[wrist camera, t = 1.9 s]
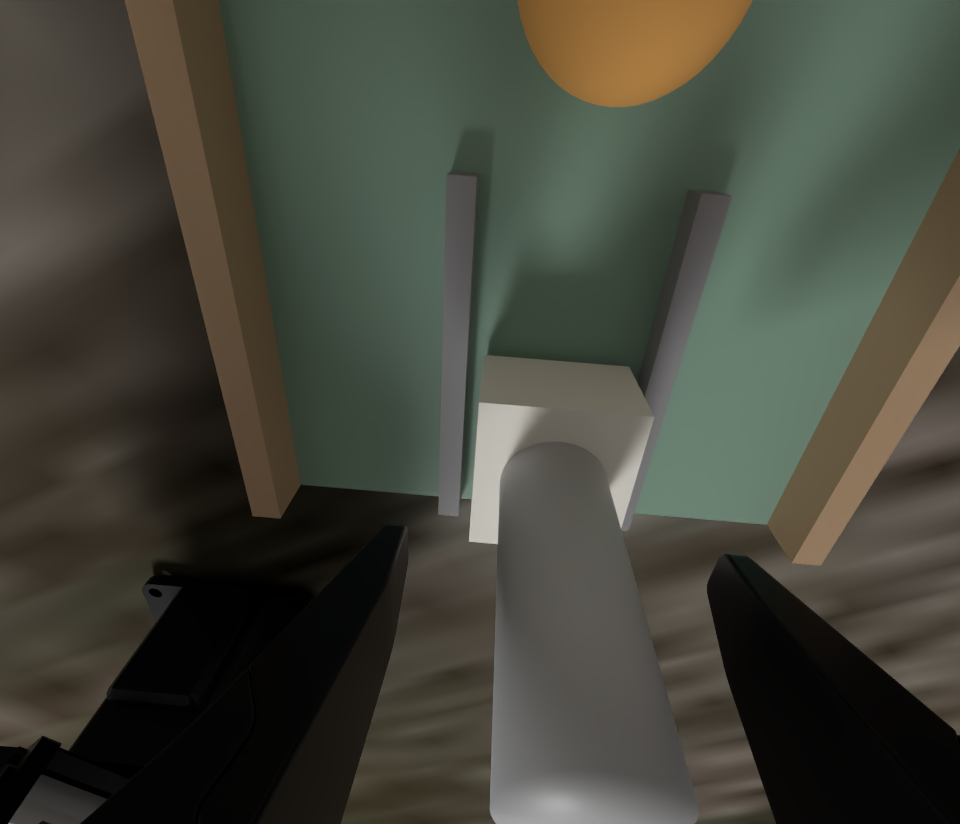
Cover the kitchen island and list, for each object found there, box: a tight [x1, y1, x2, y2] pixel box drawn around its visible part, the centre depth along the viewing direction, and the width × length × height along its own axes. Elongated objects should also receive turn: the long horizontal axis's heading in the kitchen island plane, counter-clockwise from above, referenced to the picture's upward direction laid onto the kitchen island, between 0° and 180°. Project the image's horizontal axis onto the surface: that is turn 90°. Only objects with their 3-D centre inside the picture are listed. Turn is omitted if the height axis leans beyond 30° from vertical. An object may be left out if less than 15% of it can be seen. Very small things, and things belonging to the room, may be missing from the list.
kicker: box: [469, 355, 699, 824], centre depth 9 cm, size 4×4×8 cm
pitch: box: [125, 0, 960, 566], centre depth 9 cm, size 22×16×2 cm
